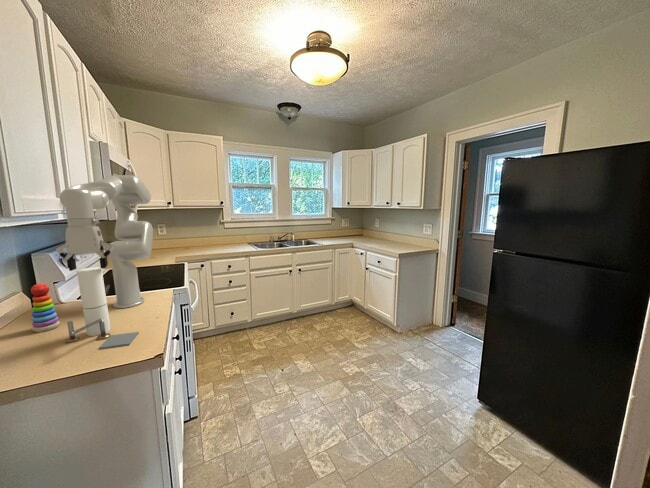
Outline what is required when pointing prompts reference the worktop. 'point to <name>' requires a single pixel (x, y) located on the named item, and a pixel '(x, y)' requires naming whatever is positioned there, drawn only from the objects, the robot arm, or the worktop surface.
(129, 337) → the mat
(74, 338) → the metal linkage
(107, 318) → the cylindrical container
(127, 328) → the worktop surface
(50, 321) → the stacking toy
